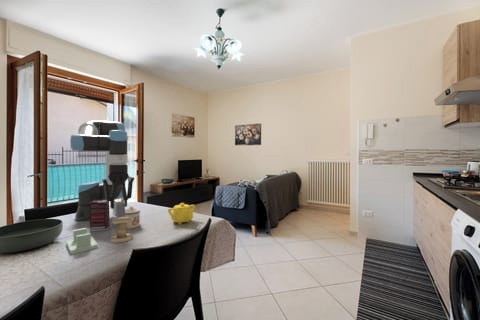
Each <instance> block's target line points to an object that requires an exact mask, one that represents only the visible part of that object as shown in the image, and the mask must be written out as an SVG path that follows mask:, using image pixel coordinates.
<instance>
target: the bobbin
mask: <svg viewBox="0 0 480 320" xmlns="http://www.w3.org/2000/svg"><path fill="white" fill-rule="evenodd" d="M111 221H112V223H113V224H114V225H115V224H116V234H115V235H113V236H111V237H110V238H109V241H110V243H112V244H113V243H115V244H118V243H119V244H120V243H125V242H128V241H131V240H132V239H133V238H134V237H133V234H132V233H129V232H128V233H127V231H128V230H127V229H128V228H127V222H129V221H130V217H119V218H117V217H115V218H113V219H112V220H111Z"/></svg>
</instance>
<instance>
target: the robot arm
mask: <svg viewBox="0 0 480 320" xmlns="http://www.w3.org/2000/svg"><path fill="white" fill-rule="evenodd" d="M77 133H78V134H72V135H70V149H71V151H74V152H75V151H76V152H105V178H102V180H101V181H102V182H101V183H100V181H89V182H84V183H81V184H79V185H78V189H77V190H78V191H77V193H78V207H77V210H76V212H75V213H76V214H75V216H74V217H75V218H74V219H75V220H76V221H79V222H80V221H90V206H89V203H90V202H92V201H109V209H111V210H112V216H113V217H116V202H117V201H116V200H121V201H120V202H122V203H125V208H126V207H128V200H129V199H131V198H132V195H133V183H134V180H135V177H132V176H130V175H129V174H128V173H129V172H128V171H129V169H128V167H129V166H128V162H129V161H128V140H129V139H128V132H127V131H126V128H125V124H124V123H123V122H121V121H110V120H109V121H107V120H91V121H87V122H84V123H81V124H80V126H79V127H78V131H77ZM126 181H128V183H127V189H126Z"/></svg>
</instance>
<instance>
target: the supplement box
mask: <svg viewBox="0 0 480 320" xmlns="http://www.w3.org/2000/svg"><path fill="white" fill-rule="evenodd" d="M89 206H90V220H89V231H90V232H96V231H97V232H98V231H101V232H102V231H107V230H108V229H110V228H111V227H110V226H111V225H110V222H111V221H110V220H111V219H110V201H107V200H102V201H92V202H90V203H89Z"/></svg>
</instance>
